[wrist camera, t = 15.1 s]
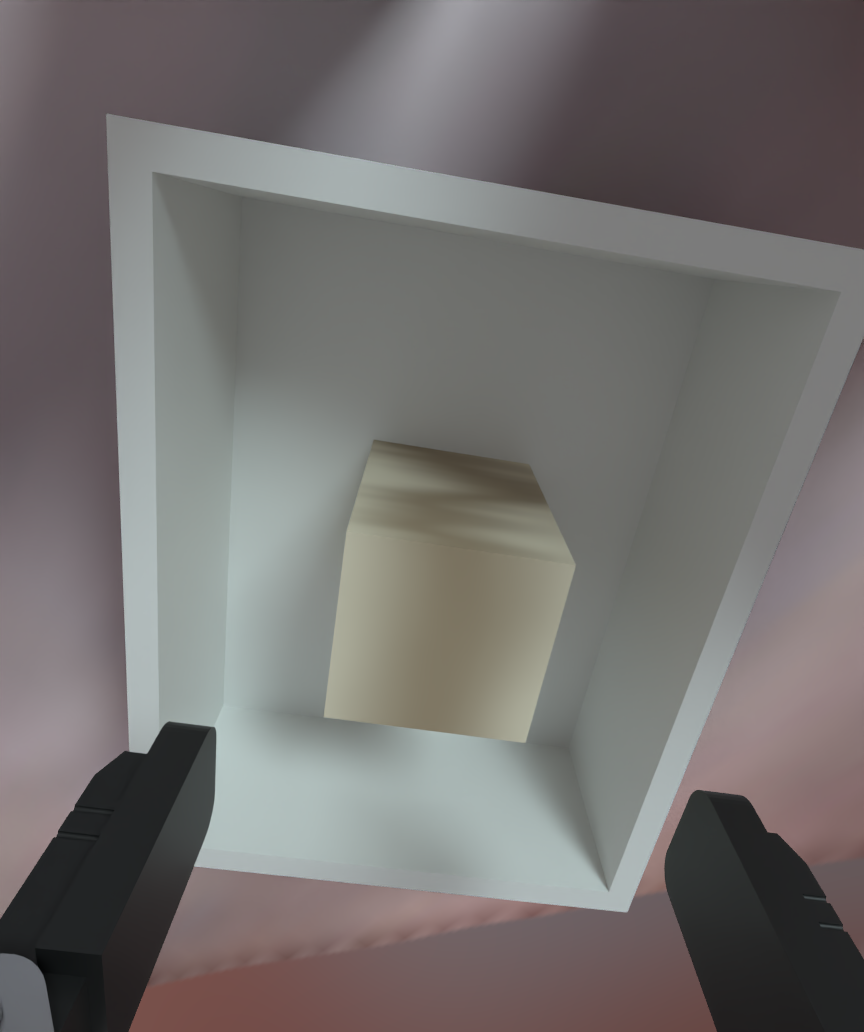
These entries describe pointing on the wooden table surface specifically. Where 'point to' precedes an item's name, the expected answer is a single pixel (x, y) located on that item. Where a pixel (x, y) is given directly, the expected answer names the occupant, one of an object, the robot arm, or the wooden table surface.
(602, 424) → the bin
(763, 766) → the wooden table surface
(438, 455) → the birch block
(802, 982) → the robot arm
